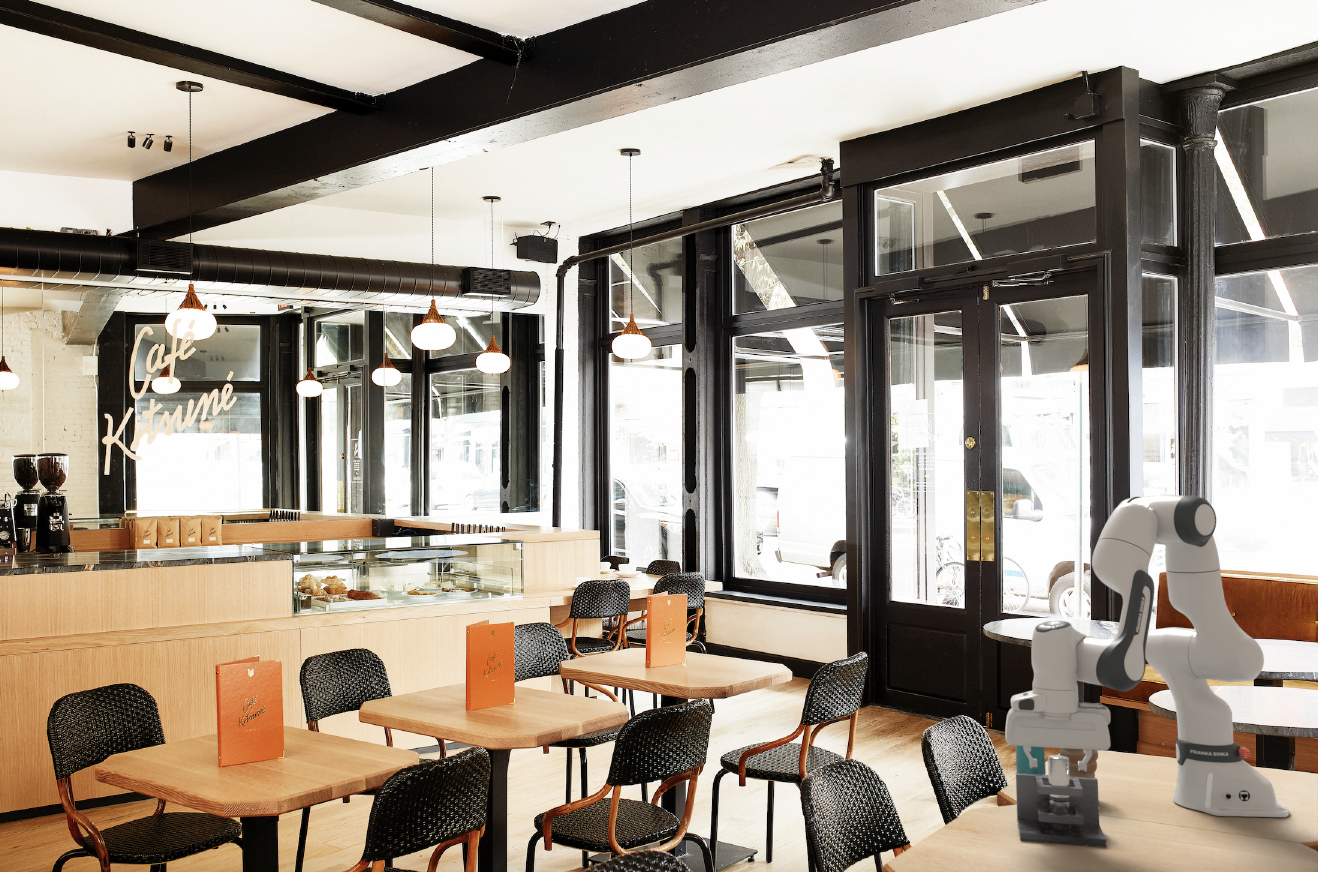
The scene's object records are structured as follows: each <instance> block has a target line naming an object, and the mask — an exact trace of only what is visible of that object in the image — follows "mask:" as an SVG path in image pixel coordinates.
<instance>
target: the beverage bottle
mask: <svg viewBox="0 0 1318 872" xmlns="http://www.w3.org/2000/svg"><path fill="white" fill-rule="evenodd" d="M1029 753H1030V755H1031V756H1032V758H1037V767H1038V768H1037V769H1034V768H1030V763H1029V759H1028V757H1027V755H1026V754H1025V752H1024V749H1023V746H1015V768H1016V773H1024V774H1040V775H1046V773H1047V769H1046V767H1047V766H1046V758H1045V757H1046V753H1045V747H1033V746H1031V752H1029Z"/></svg>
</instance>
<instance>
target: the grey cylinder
mask: <svg viewBox="0 0 1318 872" xmlns="http://www.w3.org/2000/svg"><path fill="white" fill-rule="evenodd" d="M1047 767H1048V769H1047V770H1048V773H1047V775H1048V776H1049V785H1051V786H1066V787H1070V783H1069V758H1068V757H1065V756H1060V755H1057V754H1055V755H1053V754H1052V755H1048V756H1047ZM1049 813H1055V814H1069V815H1070V796H1064V795H1050V794H1049ZM1050 827H1051V828H1053V829H1056V830H1070V829H1071V824H1065V823H1052V822H1050Z"/></svg>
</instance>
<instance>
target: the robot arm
mask: <svg viewBox="0 0 1318 872" xmlns="http://www.w3.org/2000/svg"><path fill="white" fill-rule="evenodd" d="M1216 527H1217V514H1216V511H1215V509H1214V507H1213V506H1212V505H1211V503H1210V502H1209V501H1208V500H1207V499H1205V498H1203V497H1201V496H1195V495H1191V494H1190V495H1189V494H1188V495H1180V494H1179V495H1177V494H1160V495H1149V496H1133V497H1129V498H1125V499H1124V500H1122V501H1121V502H1120V503H1119V504H1118V505H1117V507H1115V508H1114V510H1113V511H1112V513H1111V514H1110V515H1109V517H1108V518H1107V521H1106V523H1105V524H1104V527H1103V528H1102V530H1101V533H1100V535H1099V537H1098V540H1097V543H1096V545H1095V548H1094V550H1093V553H1092V559H1091V566H1092V567H1091V568H1092V570H1093V572H1094V574H1095V576H1096V577H1097V578H1098V579H1099V581H1100V582H1101V583H1102V584H1104V585H1105V586H1107V587H1108V588H1109V589H1111V590H1112V591H1114V592H1116V593H1118V594H1120V595H1121V597H1122V607H1121V608H1122V609H1121V613H1120V618H1119V624H1118V628H1117V633H1116V634H1115V636H1112V637H1111V638H1101V637H1095V636H1090V635H1087V634H1084V633H1082V632H1080V631H1078V630H1076V629H1075V628H1074V627H1073V625H1072V623H1070V622H1069V621H1064V620H1050V621H1044V622H1041V623H1039V624H1037V625H1036V626H1034V629H1033V633H1032V637H1031V652H1030V653H1031V654H1030V655H1031V667H1032V670H1033V680H1032V684H1031V685H1032V690H1029V691H1025V692H1021V693H1018V694H1017V693H1016V694H1014V695H1012V696H1011V698H1010V706H1011V708H1010V709H1009V710H1008V712H1007V714H1006V721H1005V733H1004V734H1005V736H1004V737H1005V738H1004V739H1005V741H1006V743H1007V744H1008V745H1009V746H1015V747H1016V746H1023V749H1024V752H1025V754H1026V755H1027V757H1028V759H1029V763H1030V768H1034V769H1037V768H1038V767H1037V758H1032V756H1031V755H1030V753H1029V752H1031V746H1033V747H1044V748H1053V749H1060V748H1069V749H1084V754H1085V757H1084V759H1083V760H1082V761H1078V765H1079V766H1078V770H1079V771H1082V772H1087V763H1088V761H1089V760H1090V758H1091V756H1092V750H1097V751H1105V752H1106V751H1108V750H1109V749H1110V748H1111V736H1110V731H1109V727H1108V726H1109V725H1110V723H1111V711H1110V709H1109V707H1108V706H1106V705H1103V704H1102V703H1100V702H1095V703H1091V702H1082V701H1081V702H1080V701H1079V685H1078V682H1083V683H1086V684H1092V685H1096V686H1101V687H1105V688H1108V689H1111V690H1112V689H1113V690H1115V691H1118V692H1128V691H1130V690H1132V689H1134V688H1135V687H1136V686H1138V684H1139V683H1140V682H1141V681H1142V680H1143V678H1144V676H1145V673H1146V665H1147V664H1146V663H1148V665H1149V666H1150V667H1151V668H1152V669H1153V670H1155V671H1156V673H1158V674H1159V676H1161V678H1162V679H1163V680H1164V682H1165V684H1166V685H1167V687H1168V689H1169V691H1170V693H1171V695H1172V699H1173V702H1174V706H1175V712H1176V713H1175V714H1176V720H1177V721H1176V722H1177V723H1176V724H1177V738H1176V743H1175V755H1176V762H1177V764H1178V767H1177V778H1176V786H1175V791H1174V795H1173V798H1172V801H1173V802H1174V803H1175V804H1177V805H1180V806H1182V807H1185V808H1186V809H1187V808H1188V809H1192V810H1194V811H1195V810H1196V811H1201V812H1204V813H1206V814H1209V815H1211V816H1212V815H1213V816H1218V817H1255V818H1256V817H1257V818H1258V817H1261V818H1265V817H1266V818H1286V817H1288V816H1289V815H1290V813H1289V808H1288V806H1287V805H1286V804H1285V803H1283V802H1282V801H1280V800H1278V799H1277V797H1276V793H1275V789H1274V786H1273V784H1272V782H1271V781H1270V780H1269V779H1268V778H1267V777H1266V776H1265V775H1264V774H1262V772H1260V771H1259V770H1257V769H1256V768H1255V767H1254V766H1252V765H1250V764H1249V763H1248V762H1246V761H1245V760H1244V759H1247V758H1249V757H1250V756H1251V751H1250V750H1249V749H1248V748H1247V747H1245V746H1242V745H1241V744H1238V743H1237V742H1235V741H1234V732H1233V731H1234V730H1233V729H1234V727H1233V712H1232V709H1231V707H1230V705H1229V703H1228V702H1227V701H1226V700H1224V699H1223V698H1222V697H1220V696H1218V695H1217V694H1216V693H1215V692H1214V691H1213V690H1212V689H1211V687H1210V686H1209V683H1208V681H1207V680H1212V681H1218V682H1219V681H1220V682H1225V683H1226V682H1227V683H1239V682H1250V681H1251V682H1252V681H1254V680H1255V679H1256V678H1258V676H1259V675H1260V674H1261V673H1262V671H1263V668H1264V664H1265V663H1264V662H1265V656H1264V652H1263V650H1262V648H1261V645H1259V643H1258V642H1257V640H1256V639H1254V638H1253V637H1251V636H1250V635H1248V634H1247V632H1246V631H1244V630H1243V629H1242V628H1241V627H1240V626H1239V624H1238V623H1237V622H1236V621H1235V619H1234V617H1233V616H1232V614H1231V612H1230V611H1229V608H1228V606H1227V602H1226V599H1225V595H1224V588H1223V582H1222V574H1221V573H1222V571H1221V565H1220V563H1221V562H1220V558H1219V553H1218V548H1217V545H1216V540H1215V537H1214V533H1215V531H1216ZM1155 545H1164V546H1165V548H1164V549H1165V552H1164V554H1165V555H1164V556H1165V562H1164V563H1165V572H1166V573H1165V574H1166V581H1167V591H1168V592H1167V593H1168V600H1169V602H1170V605H1171V606H1172V607H1173V609H1174V610H1176V611H1178V612H1179V613H1181V614H1183V615H1184V616H1185V617H1186V618H1187V619H1189V621H1190V622H1191V624H1192V626H1193V628H1185V627H1175V626H1174V627H1173V626H1172V627H1164V628H1156V629H1153V630H1151V631H1150V625H1151V619H1152V612H1153V606H1154V599H1155V583H1154V580H1153V577H1152V576H1151V575H1150V574H1149V567H1150V561H1151V559H1152V555H1153V552H1154V549H1155ZM1149 631H1150V632H1149ZM1077 681H1078V682H1077Z"/></svg>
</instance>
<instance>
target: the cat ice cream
mask: <svg viewBox="0 0 1318 872" xmlns="http://www.w3.org/2000/svg"><path fill="white" fill-rule="evenodd" d="M1059 749H1060V751H1059V756H1065V757H1068V758H1069V776H1071V777H1087V778H1096V771H1097V768H1098V763H1097V760H1098V759H1099V750H1092V756H1091V758H1090V760H1089V761H1088V763H1087V772H1082V771H1079V770H1078V766H1079V765H1078V761H1082V760H1083V759H1084V757H1085V754H1084V749H1069V748H1059Z"/></svg>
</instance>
